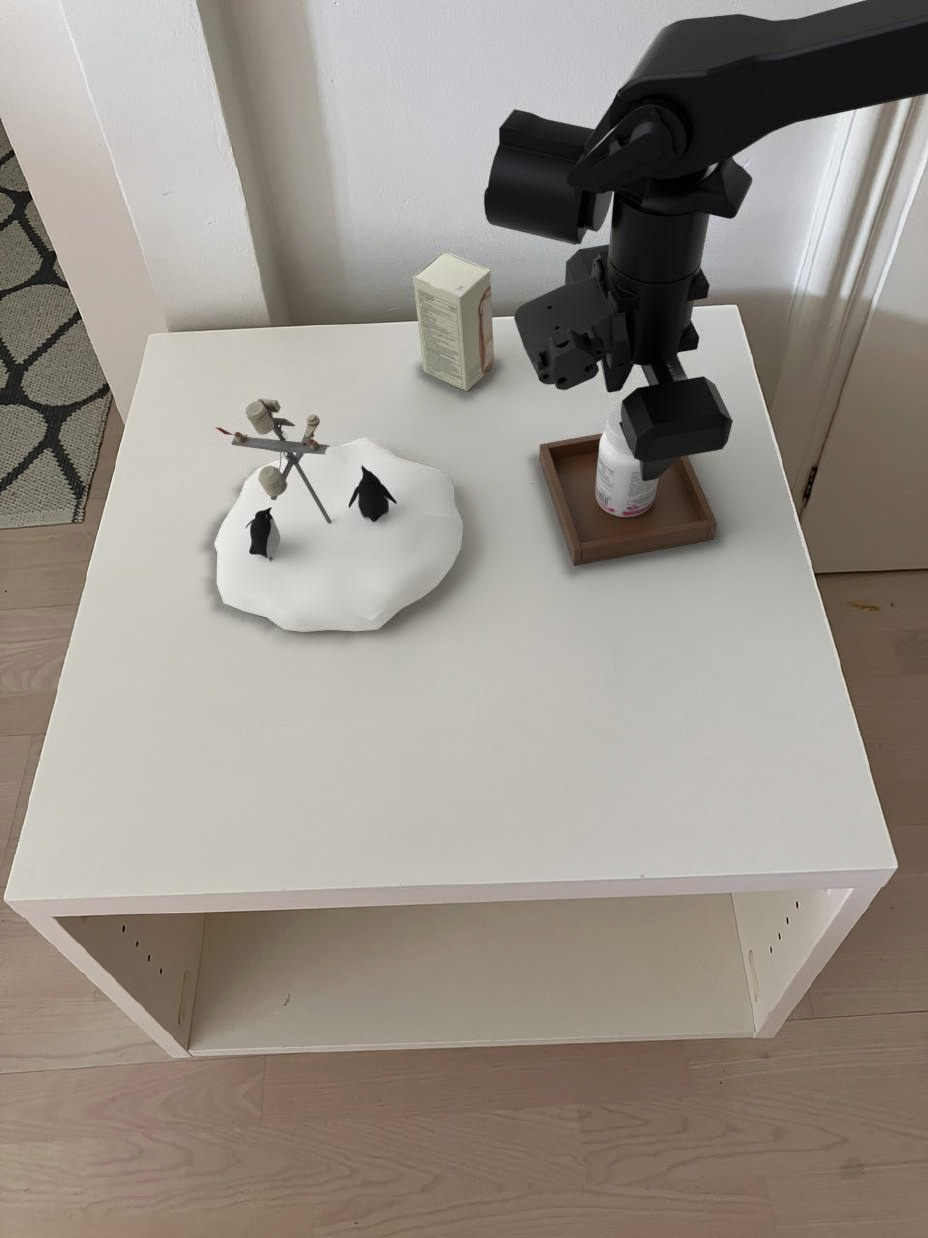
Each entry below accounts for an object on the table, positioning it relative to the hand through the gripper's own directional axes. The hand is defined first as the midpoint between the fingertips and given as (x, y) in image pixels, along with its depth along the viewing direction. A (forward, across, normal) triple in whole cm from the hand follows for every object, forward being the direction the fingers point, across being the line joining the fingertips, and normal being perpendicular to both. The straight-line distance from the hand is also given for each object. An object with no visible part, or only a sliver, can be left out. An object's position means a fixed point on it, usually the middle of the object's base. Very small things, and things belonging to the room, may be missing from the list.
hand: (630, 433), depth 76 cm
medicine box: (+8, -18, -10) cm, 22 cm away
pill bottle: (+7, 0, 0) cm, 7 cm away
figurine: (+8, -1, -23) cm, 24 cm away
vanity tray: (+7, 0, 0) cm, 7 cm away
